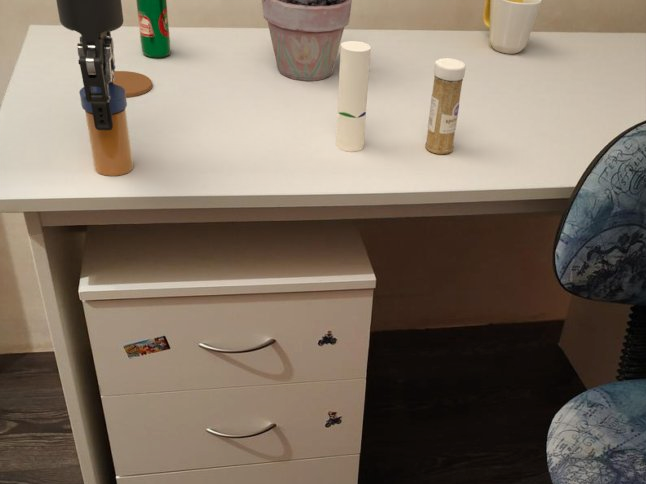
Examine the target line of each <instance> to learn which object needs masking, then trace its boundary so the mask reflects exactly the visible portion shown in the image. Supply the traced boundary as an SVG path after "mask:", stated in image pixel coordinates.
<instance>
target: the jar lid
mask: <svg viewBox="0 0 646 484" xmlns="http://www.w3.org/2000/svg"><path fill="white" fill-rule="evenodd" d="M93 92H101V88H100V87H93ZM85 96H86V94H85V89H84V86H83V87H81V89H80V90H79V99H80V105H81V108H82V109H83V110H84V112H85V111H88V112H90V113H93V111H92V105H91V103H87V100H86V98H85ZM109 96H110V97H111V100H110V108H111V113H116V112H120V111H122V110H124V109H127V106H128V102H127V101H128V100H127V97H126V93H125V89H124V88H123V87H121V86H118V85H115V84H109Z"/></svg>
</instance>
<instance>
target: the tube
mask: <svg viewBox="0 0 646 484" xmlns="http://www.w3.org/2000/svg"><path fill="white" fill-rule="evenodd" d="M371 49H372V47H371V45H369V44H368V43H366V42H363V41H359V40H358V41H357V40H347V41H343V42H341V43H340V55H339V75H338V93H337V94H338V96H337V112H336V113H337V116H336V133H335V134H336V136H335V146H336V148H337V149H339V150H341V151H344V152H350V153H353V152H354V153H355V152H359V151H362V150H363V149H364V143H365V130H366V118H367V117H366V116H367V113H366V112H367V105H368V104H367V102H368V91H369V76H370V64H371V63H370V62H371Z"/></svg>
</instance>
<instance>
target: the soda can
mask: <svg viewBox="0 0 646 484" xmlns="http://www.w3.org/2000/svg"><path fill="white" fill-rule="evenodd" d="M135 1H136V9H137V19H138V27H139V38H140V46H141V52H142V54H143V55H145V56H146V57H149V58H153V59H162V58H163V59H164V58H166V57H168V56H169V55H170V54H171V50H172V49H171V38H170V28H169V14H168V3H167V0H135Z"/></svg>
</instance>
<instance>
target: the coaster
mask: <svg viewBox="0 0 646 484" xmlns="http://www.w3.org/2000/svg"><path fill="white" fill-rule="evenodd" d="M113 73H114V75H115V78H114V81H112V82H113V83H114V84H115V85H118V86H121V87H123V88H124V89H125V93H126V98H131V97H137V96H138V97H139V96H142V95H144V94H146V93H148V92H150V91H151V90H152V88H153V81H152V79H151V78H150V77H148V76H147V75H145V74H143V73H139V72H135V71H128V70H115V71H114V72H113Z"/></svg>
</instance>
